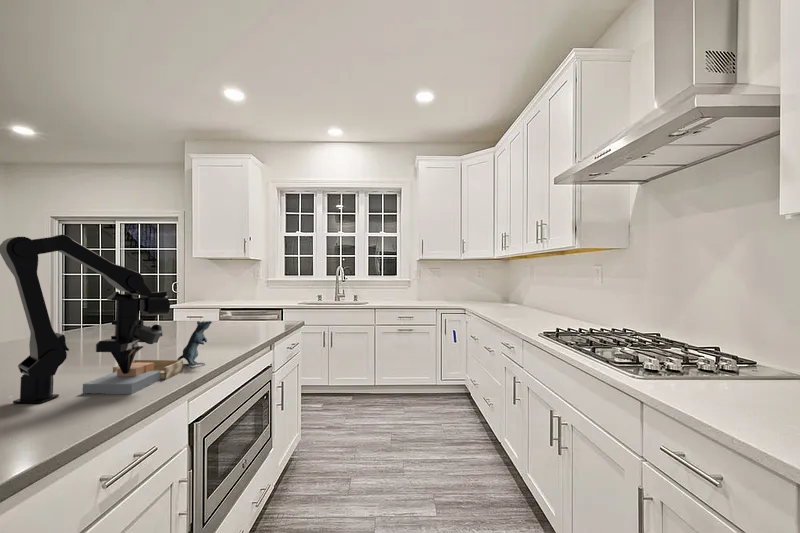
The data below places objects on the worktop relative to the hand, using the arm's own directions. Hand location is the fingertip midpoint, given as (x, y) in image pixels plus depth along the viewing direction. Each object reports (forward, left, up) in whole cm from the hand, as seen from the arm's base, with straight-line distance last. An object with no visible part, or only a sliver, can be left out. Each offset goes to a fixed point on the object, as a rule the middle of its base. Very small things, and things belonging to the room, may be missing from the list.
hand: (125, 373), depth 125 cm
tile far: (+8, 0, -1) cm, 8 cm away
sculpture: (+31, -7, -4) cm, 32 cm away
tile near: (+3, 0, -1) cm, 4 cm away
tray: (+14, 0, -3) cm, 14 cm away
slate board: (0, 0, -3) cm, 3 cm away
